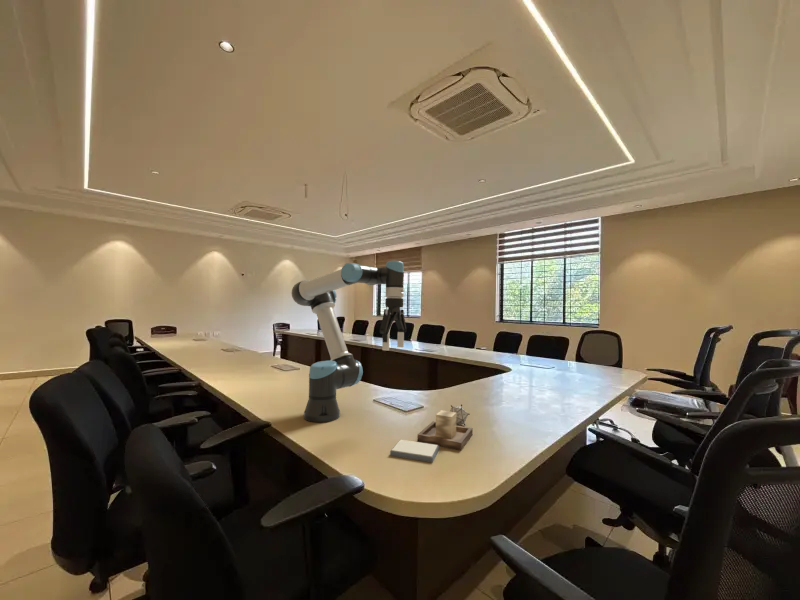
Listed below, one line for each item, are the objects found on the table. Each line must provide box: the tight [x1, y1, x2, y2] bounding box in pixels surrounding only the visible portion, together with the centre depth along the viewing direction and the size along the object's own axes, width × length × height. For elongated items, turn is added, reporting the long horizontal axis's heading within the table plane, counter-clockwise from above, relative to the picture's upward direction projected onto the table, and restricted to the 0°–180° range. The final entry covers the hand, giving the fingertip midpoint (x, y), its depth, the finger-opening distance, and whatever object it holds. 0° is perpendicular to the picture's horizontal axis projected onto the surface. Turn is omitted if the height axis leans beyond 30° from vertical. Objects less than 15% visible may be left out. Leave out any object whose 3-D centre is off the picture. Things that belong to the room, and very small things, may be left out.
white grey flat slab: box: [389, 439, 440, 463], centre depth 111 cm, size 14×10×2 cm
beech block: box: [435, 409, 457, 440], centre depth 124 cm, size 6×6×8 cm
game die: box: [450, 404, 471, 426], centre depth 138 cm, size 9×8×10 cm
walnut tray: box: [416, 420, 474, 451], centre depth 124 cm, size 16×16×2 cm
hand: (393, 348), depth 140 cm, fingers open, 13 cm apart
